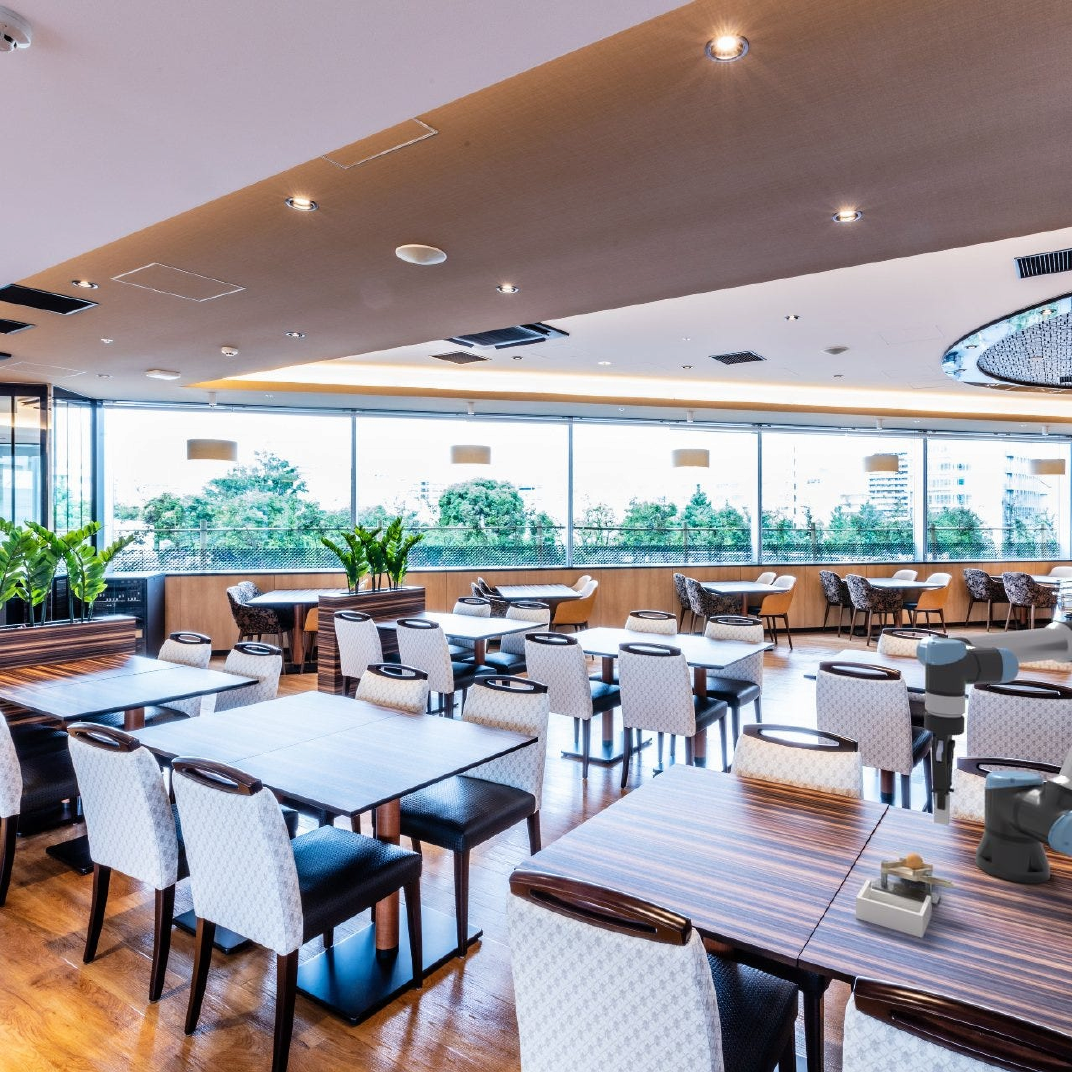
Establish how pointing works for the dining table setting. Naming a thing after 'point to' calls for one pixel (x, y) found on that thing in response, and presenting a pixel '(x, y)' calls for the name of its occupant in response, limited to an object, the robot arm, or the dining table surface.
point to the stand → (906, 889)
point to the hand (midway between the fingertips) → (941, 822)
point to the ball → (914, 861)
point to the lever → (913, 872)
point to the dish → (893, 910)
